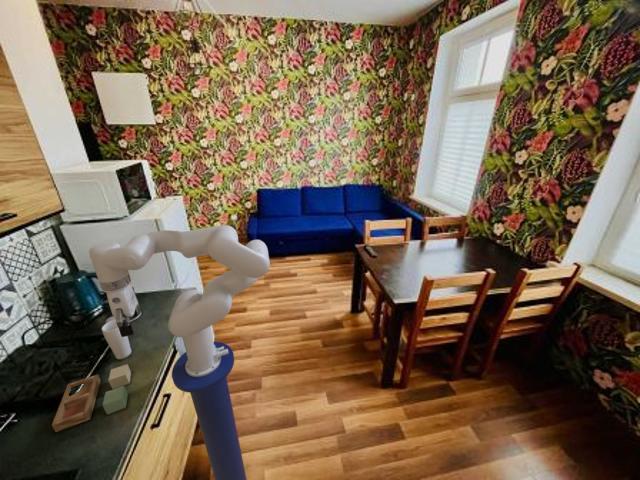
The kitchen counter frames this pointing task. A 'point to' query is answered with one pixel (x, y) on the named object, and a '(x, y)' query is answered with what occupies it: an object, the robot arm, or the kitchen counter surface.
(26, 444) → the kitchen counter surface
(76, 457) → the kitchen counter surface
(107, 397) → the sage pad
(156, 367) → the kitchen counter surface
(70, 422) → the pad frame
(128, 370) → the cream pad
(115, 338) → the drinking glass
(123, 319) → the coffee can
